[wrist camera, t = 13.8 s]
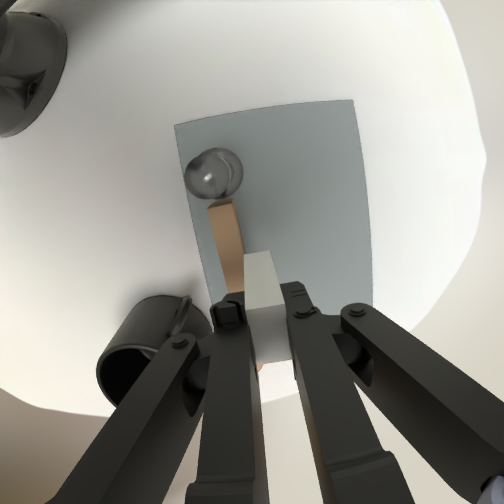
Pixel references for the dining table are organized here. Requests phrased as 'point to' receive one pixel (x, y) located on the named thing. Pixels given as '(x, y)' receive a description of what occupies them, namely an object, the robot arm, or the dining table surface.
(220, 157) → the pivot post
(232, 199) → the gate
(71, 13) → the dining table surface
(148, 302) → the mug
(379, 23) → the dining table surface
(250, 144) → the mat
